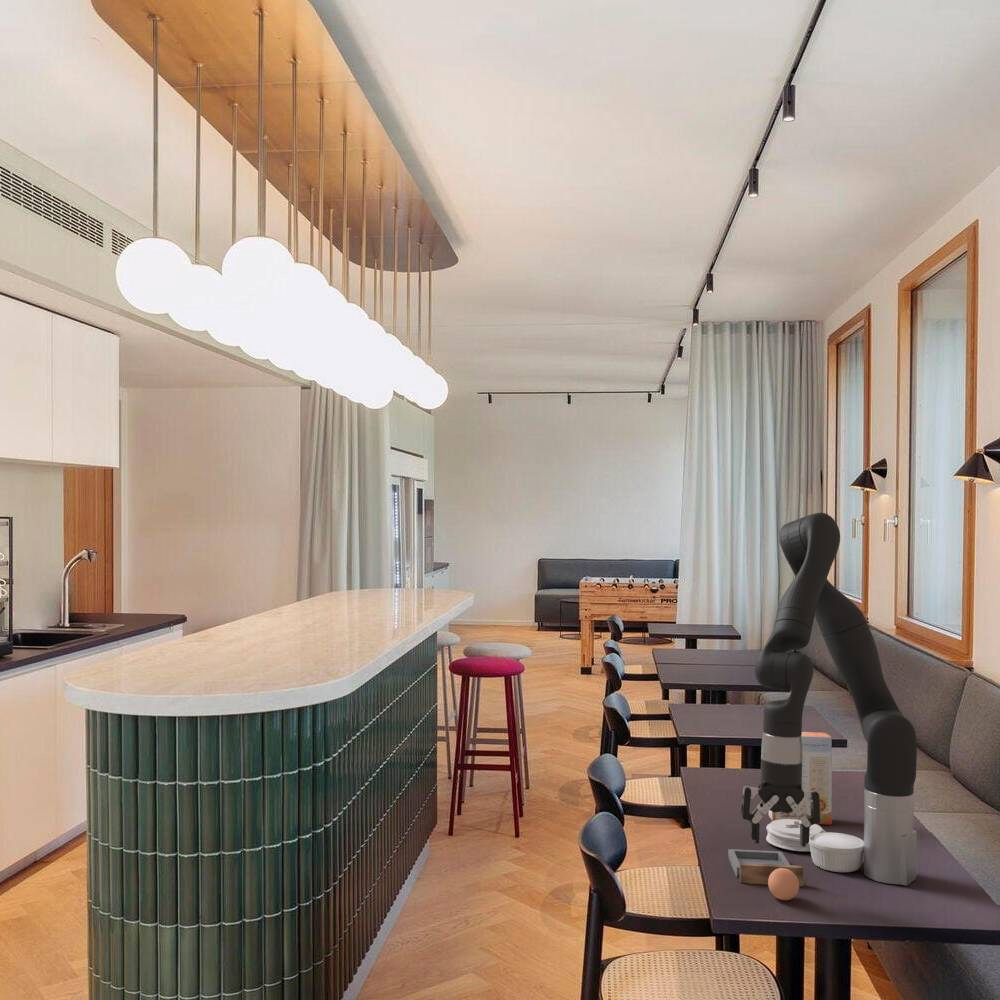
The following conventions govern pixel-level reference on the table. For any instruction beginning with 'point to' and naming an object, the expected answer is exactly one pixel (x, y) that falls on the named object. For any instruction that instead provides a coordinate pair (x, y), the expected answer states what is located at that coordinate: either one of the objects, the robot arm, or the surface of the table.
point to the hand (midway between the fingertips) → (779, 843)
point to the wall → (765, 872)
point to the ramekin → (836, 851)
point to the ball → (783, 884)
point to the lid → (789, 834)
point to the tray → (754, 858)
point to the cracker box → (814, 776)
